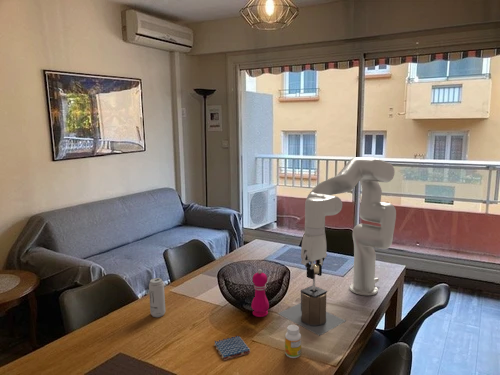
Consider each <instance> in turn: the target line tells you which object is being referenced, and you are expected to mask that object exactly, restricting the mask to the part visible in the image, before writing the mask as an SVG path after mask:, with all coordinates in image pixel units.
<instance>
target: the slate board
mask: <svg viewBox="0 0 500 375" xmlns="http://www.w3.org/2000/svg"><path fill="white" fill-rule="evenodd" d="M277 315H280V316H282V317H283V318H286V319H287V320H289V321H291V322H293V323H295V325H296V324H297V326H298V325H299V327H303V328H304V329H306V330H308V331H310V332H312V333H314V334H315V335H318V336H322V335H324V334H325V333H327V332H329V331H331V330H333V329H334V328H337V327H338V326H340V325H341V324H343V323H345V322H347V320H346V319H343V318H341V317H339V316H337V315H334V314H333V313H330V312H328V311H326V323H325V324H324V325H321V326H309V325H306V324H304V323H303V322H302V321H301V316H302V311H301V302H300V303H298V304H295V305H293V306H291V307H288V308H287V309H284V310H282V311H280V312H278V313H277Z"/></svg>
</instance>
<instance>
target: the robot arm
mask: <svg viewBox="0 0 500 375" xmlns="http://www.w3.org/2000/svg"><path fill="white" fill-rule="evenodd" d="M394 177H395V168H394V166H393V164H392V163H390V162H388V161H384V160H382V159H379V158H375V157H363V156H362V157H361V156H357V157H352V158H350V160H349V161H347V163H346V164H345V165H344V166H343V167H342V169H340V171H339V172H338V174H336V175H334V176H333V177H331V178H327V179H325V180H324V181H321V182H319V183H318V184H316V185H315V186H314V188H313V189H312V190H311V191H310V192H309V193H308V195H307V197H306V199H305V203H304V234H303V236H302V239H301V247H300V248H301V250H300V259H301V261H300V264H301V265H304V266H305V268H306V277H307V278H308V279H311V280H313V279H314V269H313V264H318V265H319V274H315V276H319V277H322V275H323V272H322V270H323V265H324V261H325V259H326V258H327V256H328V254H327V238H326V217H327V216H329V217H330V216H335V215H337V214H339V213H340V212H341V211H342V209H343V201H342V199H341V198H340V197H338V196H337V195H340V194H345V193H348V192H351V191H352V190H354V189H355V187H356V185H357V184H358V183H359V182H360V185H361V196H360V203H359V204H360V205H359V213H358V215H359V218H360V219H361V220H363V221H365V222H371V223H376V224H379V225H380V226H379V225H374V224H368V223H358V224H356V225H355V226H354V227H353V228H352V240H353V254H354V255H353V274H352V275H353V279H352V280H353V281H352V283H351V284H349V290H350V291H351V292H352V293H353V294H357V295H360V296H365V297H366V296H374V295H377V293H378V291H379V288H378V287H377V286H376V283H378V282H379V281H380V278H378V277H376V276H375V275H376V257H377V255H376V251H375V248H376V249H381V250H388V249H389V248H390V247H391V246H392V244H393V239H394V233H395V227H396V226H395V225H396V220H397V210H396V207H395V206H394V205H393V204H392V203H390V202H389V203H388V202H383V201H381V200H382V193H383V191H382V187H381V184H379V183H389V182H391V181H392V180H393V179H394ZM314 262H315V263H314Z"/></svg>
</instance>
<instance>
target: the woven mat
mask: <svg viewBox="0 0 500 375" xmlns="http://www.w3.org/2000/svg"><path fill="white" fill-rule="evenodd" d="M213 346H214V347H215V350H217V351H218V353H217V354H219V355H220V356H221V359H223V361H227V360H231V359H235V358H237V357H241V356H244V355H245V356H246V355H247V354H251V348H250V347H249V346H248V344H247V343H245V341H244V340H243V339H242V338H241V336H239V335H238V336H237V335H235V337H234V336H231V337H230V338H229V337H227V338H223V339H219V340H218V341H216V340H214V344H213Z"/></svg>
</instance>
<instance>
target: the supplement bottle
mask: <svg viewBox="0 0 500 375" xmlns="http://www.w3.org/2000/svg"><path fill="white" fill-rule="evenodd" d="M286 328H287V329H286V333H285V336H284V349H285V350H284V353H285V354H284V355H286V357H287V358H291V359H296V358H299V357H300V356H301V354H302V353H301V352H302V334H301V333H300V326H298V324H297V325H296V324H289V325H288V326H287V327H286Z"/></svg>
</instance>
